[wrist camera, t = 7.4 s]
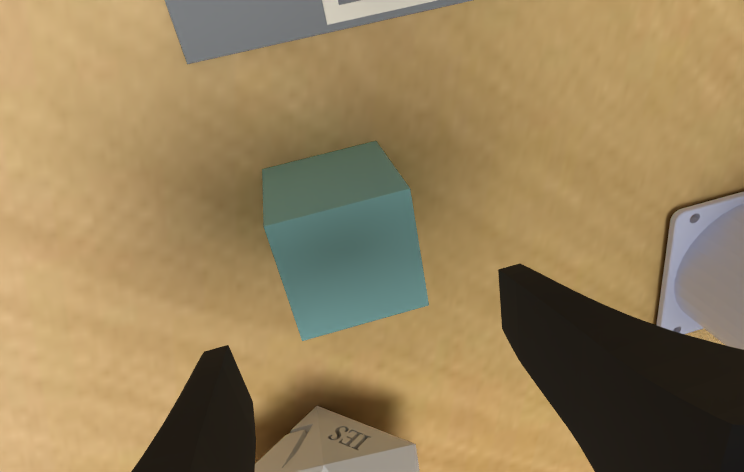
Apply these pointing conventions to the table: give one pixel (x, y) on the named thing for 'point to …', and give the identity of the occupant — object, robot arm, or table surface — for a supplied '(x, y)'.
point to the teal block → (343, 239)
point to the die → (338, 448)
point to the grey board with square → (275, 21)
